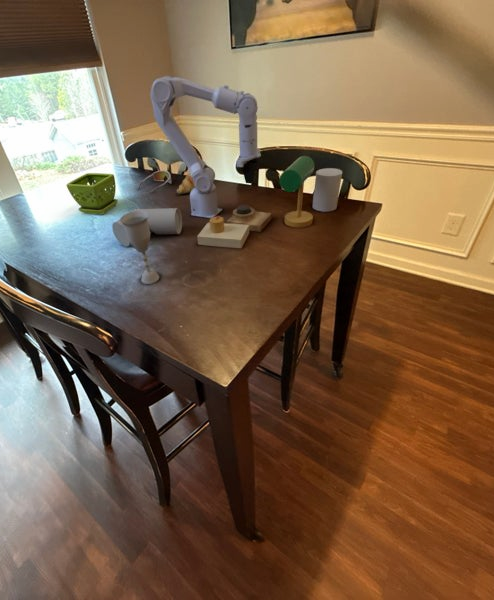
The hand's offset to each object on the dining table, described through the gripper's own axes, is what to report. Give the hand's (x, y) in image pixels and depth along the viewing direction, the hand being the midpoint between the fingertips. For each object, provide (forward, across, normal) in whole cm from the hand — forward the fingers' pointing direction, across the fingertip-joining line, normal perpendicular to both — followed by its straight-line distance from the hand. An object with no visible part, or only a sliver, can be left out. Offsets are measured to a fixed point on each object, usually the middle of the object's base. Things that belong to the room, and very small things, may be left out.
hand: (249, 182), depth 108 cm
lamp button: (+7, -9, -2) cm, 11 cm away
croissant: (+10, +16, +34) cm, 39 cm away
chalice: (+10, -49, +8) cm, 51 cm away
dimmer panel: (+10, -22, -1) cm, 24 cm away
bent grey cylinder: (+10, -28, +23) cm, 38 cm away
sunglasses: (+10, +14, +54) cm, 57 cm away
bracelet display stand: (+10, -3, -19) cm, 22 cm away
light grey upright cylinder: (+11, +11, -24) cm, 28 cm away
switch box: (+10, -9, -4) cm, 14 cm away
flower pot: (+10, -16, +61) cm, 64 cm away
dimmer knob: (+7, -22, +1) cm, 24 cm away
